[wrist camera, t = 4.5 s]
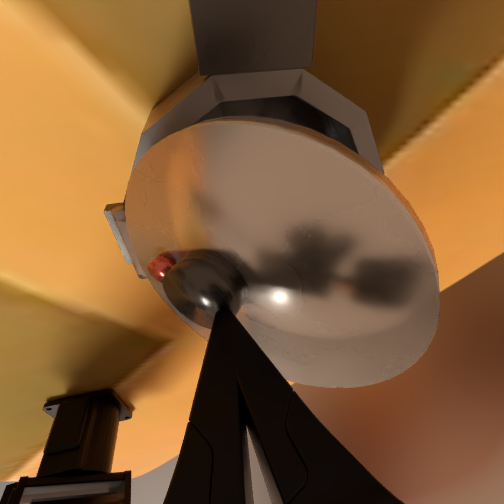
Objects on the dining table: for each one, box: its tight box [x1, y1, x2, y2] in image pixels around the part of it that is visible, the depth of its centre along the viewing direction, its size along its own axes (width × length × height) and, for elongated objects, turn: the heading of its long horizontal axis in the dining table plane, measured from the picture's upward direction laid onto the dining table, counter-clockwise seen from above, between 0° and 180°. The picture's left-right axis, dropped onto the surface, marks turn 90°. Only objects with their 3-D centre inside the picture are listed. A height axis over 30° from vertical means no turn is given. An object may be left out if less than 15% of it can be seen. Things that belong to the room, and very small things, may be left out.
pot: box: [104, 0, 384, 264], centre depth 15 cm, size 17×13×4 cm
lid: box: [110, 116, 440, 388], centre depth 10 cm, size 12×11×2 cm
